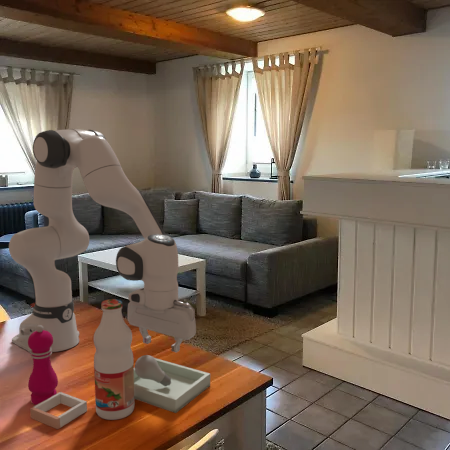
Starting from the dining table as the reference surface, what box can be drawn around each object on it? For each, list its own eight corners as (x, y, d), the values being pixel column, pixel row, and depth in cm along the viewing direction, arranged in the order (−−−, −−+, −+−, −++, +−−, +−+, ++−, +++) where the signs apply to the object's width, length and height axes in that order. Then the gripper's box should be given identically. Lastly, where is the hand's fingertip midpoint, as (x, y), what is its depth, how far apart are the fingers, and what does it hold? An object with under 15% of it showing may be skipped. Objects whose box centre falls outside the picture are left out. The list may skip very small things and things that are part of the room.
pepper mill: (35, 391, 131) (31, 320, 128) (62, 392, 131) (59, 320, 128) (24, 406, 124) (19, 330, 121) (52, 407, 124) (48, 331, 120)
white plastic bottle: (141, 412, 122) (139, 303, 117) (106, 425, 116) (102, 311, 111) (123, 396, 129) (120, 293, 124) (89, 408, 123) (84, 300, 118)
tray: (114, 392, 131) (113, 379, 131) (152, 368, 145) (152, 357, 144) (175, 413, 121) (175, 399, 121) (210, 385, 135) (210, 373, 134)
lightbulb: (161, 398, 130) (127, 374, 130) (167, 384, 136) (134, 361, 135) (173, 383, 128) (139, 359, 128) (179, 370, 134) (146, 346, 133)
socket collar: (30, 418, 119) (30, 408, 118) (60, 400, 127) (60, 391, 126) (57, 429, 114) (57, 419, 114) (87, 410, 122) (86, 401, 122)
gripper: (201, 301, 127) (200, 351, 129) (138, 287, 137) (139, 334, 139) (187, 308, 121) (186, 361, 124) (123, 293, 131) (124, 342, 134)
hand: (161, 346), depth 132 cm, fingers open, 8 cm apart
